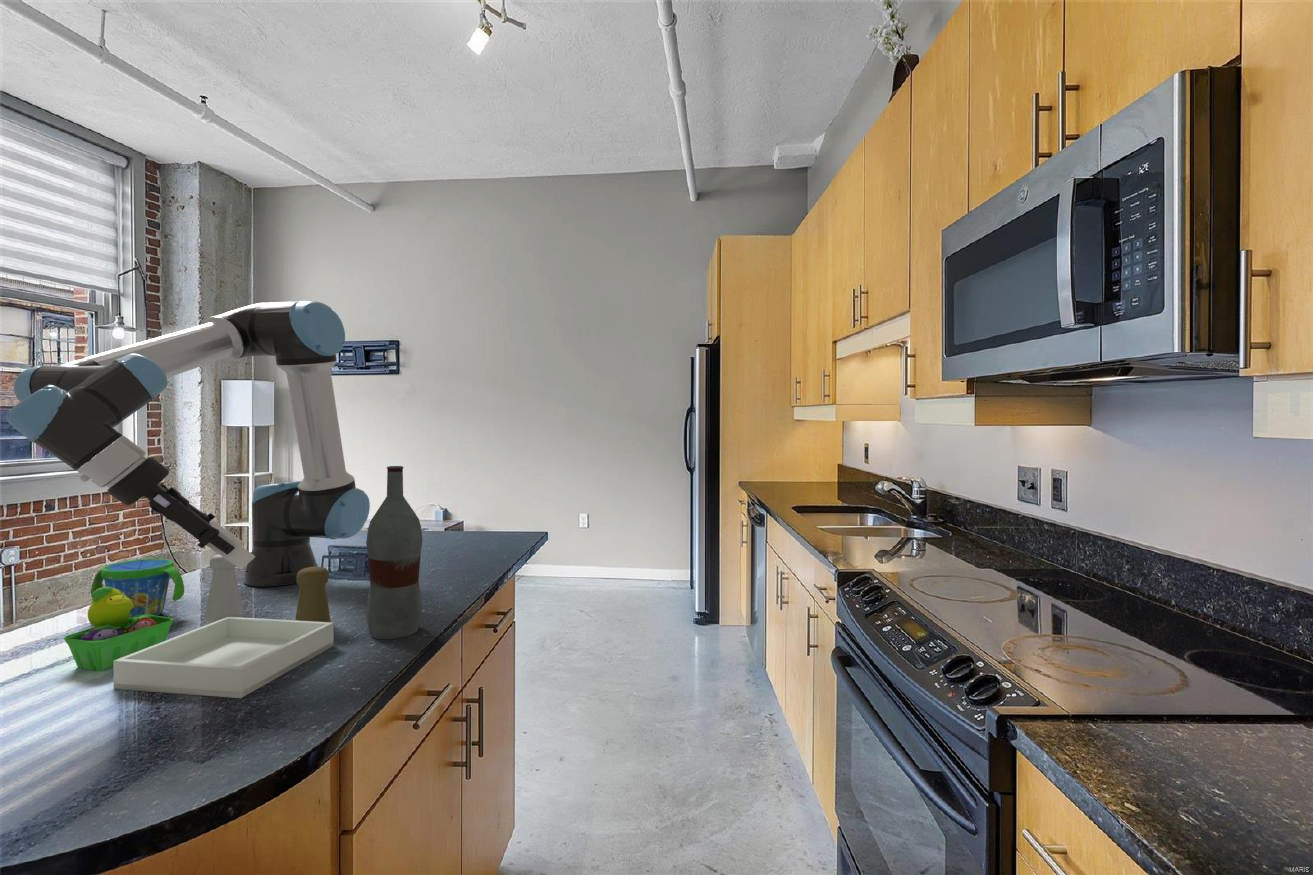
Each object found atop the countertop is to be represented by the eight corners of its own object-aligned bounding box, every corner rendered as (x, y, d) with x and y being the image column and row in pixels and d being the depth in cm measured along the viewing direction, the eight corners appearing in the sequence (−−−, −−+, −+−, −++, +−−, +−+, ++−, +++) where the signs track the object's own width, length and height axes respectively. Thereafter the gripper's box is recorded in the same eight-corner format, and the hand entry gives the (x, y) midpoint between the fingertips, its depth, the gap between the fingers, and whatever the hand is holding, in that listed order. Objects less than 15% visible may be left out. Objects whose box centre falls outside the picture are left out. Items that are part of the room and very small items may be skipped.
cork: (304, 635, 107) (304, 573, 107) (287, 628, 111) (286, 568, 110) (338, 625, 113) (338, 566, 112) (320, 619, 116) (320, 562, 115)
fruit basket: (95, 676, 89) (94, 600, 89) (55, 668, 92) (54, 594, 92) (176, 649, 100) (176, 581, 100) (138, 642, 103) (138, 576, 102)
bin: (227, 639, 105) (227, 616, 104) (333, 646, 102) (333, 622, 102) (113, 688, 85) (113, 660, 85) (240, 698, 83) (240, 669, 83)
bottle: (365, 643, 104) (366, 468, 103) (366, 627, 112) (366, 465, 111) (424, 636, 108) (424, 467, 107) (420, 620, 116) (421, 464, 115)
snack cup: (199, 610, 121) (199, 559, 120) (152, 627, 110) (151, 572, 110) (126, 607, 122) (125, 557, 121) (72, 624, 111) (71, 569, 111)
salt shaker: (250, 619, 115) (250, 551, 115) (226, 629, 109) (226, 558, 109) (222, 618, 116) (222, 550, 115) (196, 628, 110) (196, 557, 110)
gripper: (107, 483, 102) (217, 559, 112) (99, 498, 83) (232, 589, 93) (148, 451, 105) (251, 528, 115) (149, 459, 86) (272, 550, 96)
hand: (243, 555), depth 104 cm, fingers open, 13 cm apart
